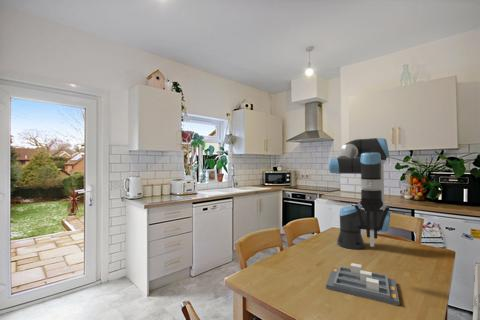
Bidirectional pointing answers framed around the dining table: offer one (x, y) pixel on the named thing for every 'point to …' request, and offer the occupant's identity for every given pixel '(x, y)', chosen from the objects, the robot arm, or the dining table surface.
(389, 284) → the switch board
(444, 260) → the dining table surface
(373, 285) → the tab
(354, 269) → the tab
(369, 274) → the tab
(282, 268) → the dining table surface
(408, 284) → the dining table surface
